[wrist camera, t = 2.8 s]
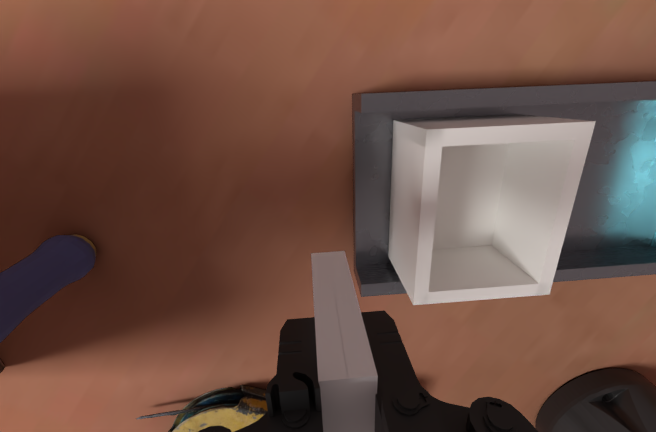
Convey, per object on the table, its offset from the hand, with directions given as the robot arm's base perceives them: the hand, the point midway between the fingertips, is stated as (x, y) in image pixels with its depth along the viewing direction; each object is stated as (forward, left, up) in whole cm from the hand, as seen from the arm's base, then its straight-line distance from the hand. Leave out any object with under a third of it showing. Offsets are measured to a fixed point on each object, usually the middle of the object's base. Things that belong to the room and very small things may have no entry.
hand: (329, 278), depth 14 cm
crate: (-10, -5, -13) cm, 17 cm away
